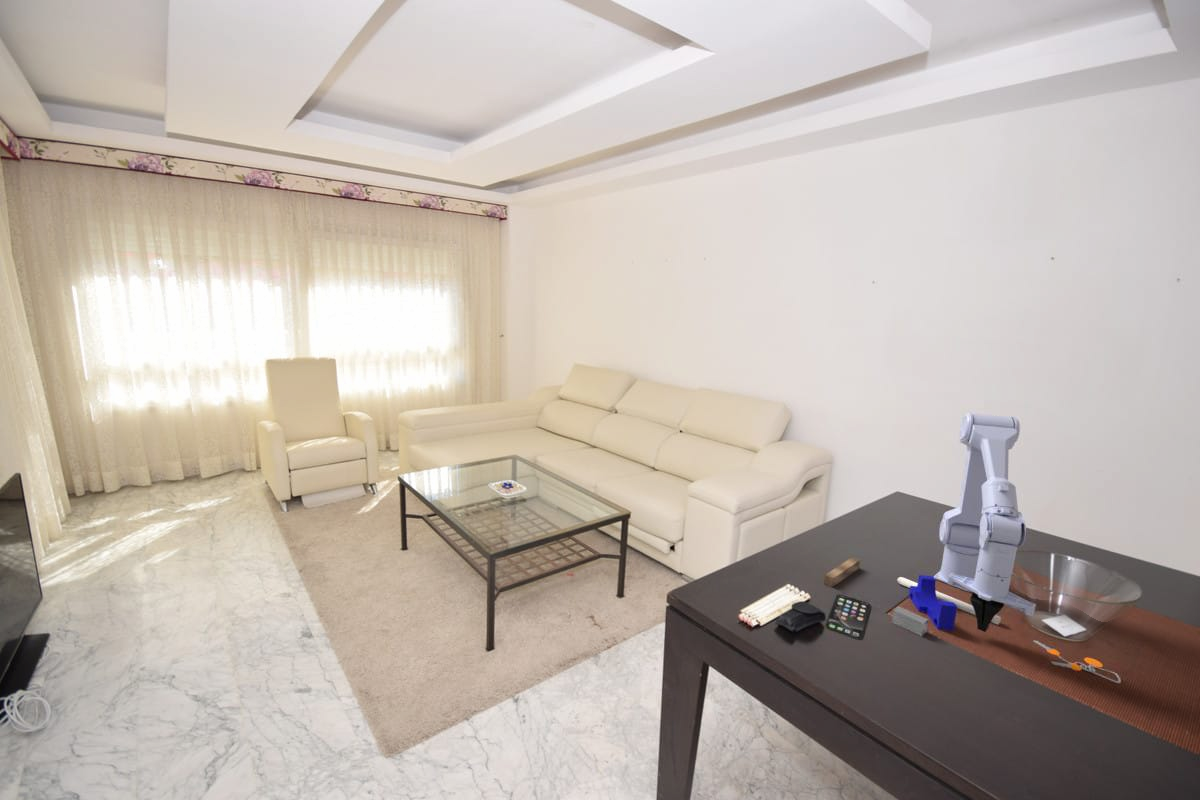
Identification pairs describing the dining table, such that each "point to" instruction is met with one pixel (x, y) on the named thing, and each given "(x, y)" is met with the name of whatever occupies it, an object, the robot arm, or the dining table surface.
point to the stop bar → (841, 572)
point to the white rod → (948, 599)
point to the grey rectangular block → (910, 621)
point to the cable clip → (933, 603)
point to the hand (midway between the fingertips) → (982, 628)
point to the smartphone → (848, 616)
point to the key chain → (1076, 667)
